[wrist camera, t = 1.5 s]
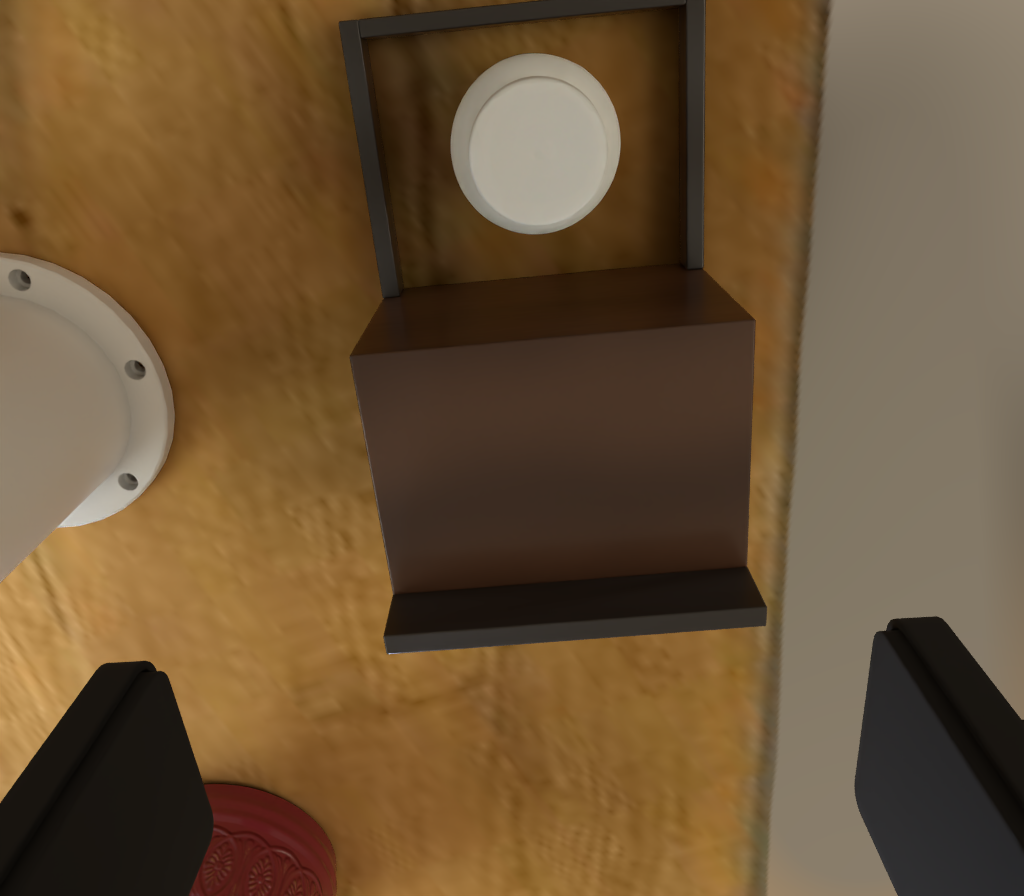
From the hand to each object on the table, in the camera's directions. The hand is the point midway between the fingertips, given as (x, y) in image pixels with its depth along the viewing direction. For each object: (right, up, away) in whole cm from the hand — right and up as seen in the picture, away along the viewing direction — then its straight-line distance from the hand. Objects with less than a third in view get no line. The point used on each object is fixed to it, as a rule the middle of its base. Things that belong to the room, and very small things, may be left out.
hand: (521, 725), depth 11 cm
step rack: (+1, +11, +23) cm, 26 cm away
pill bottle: (+1, +16, +21) cm, 26 cm away
